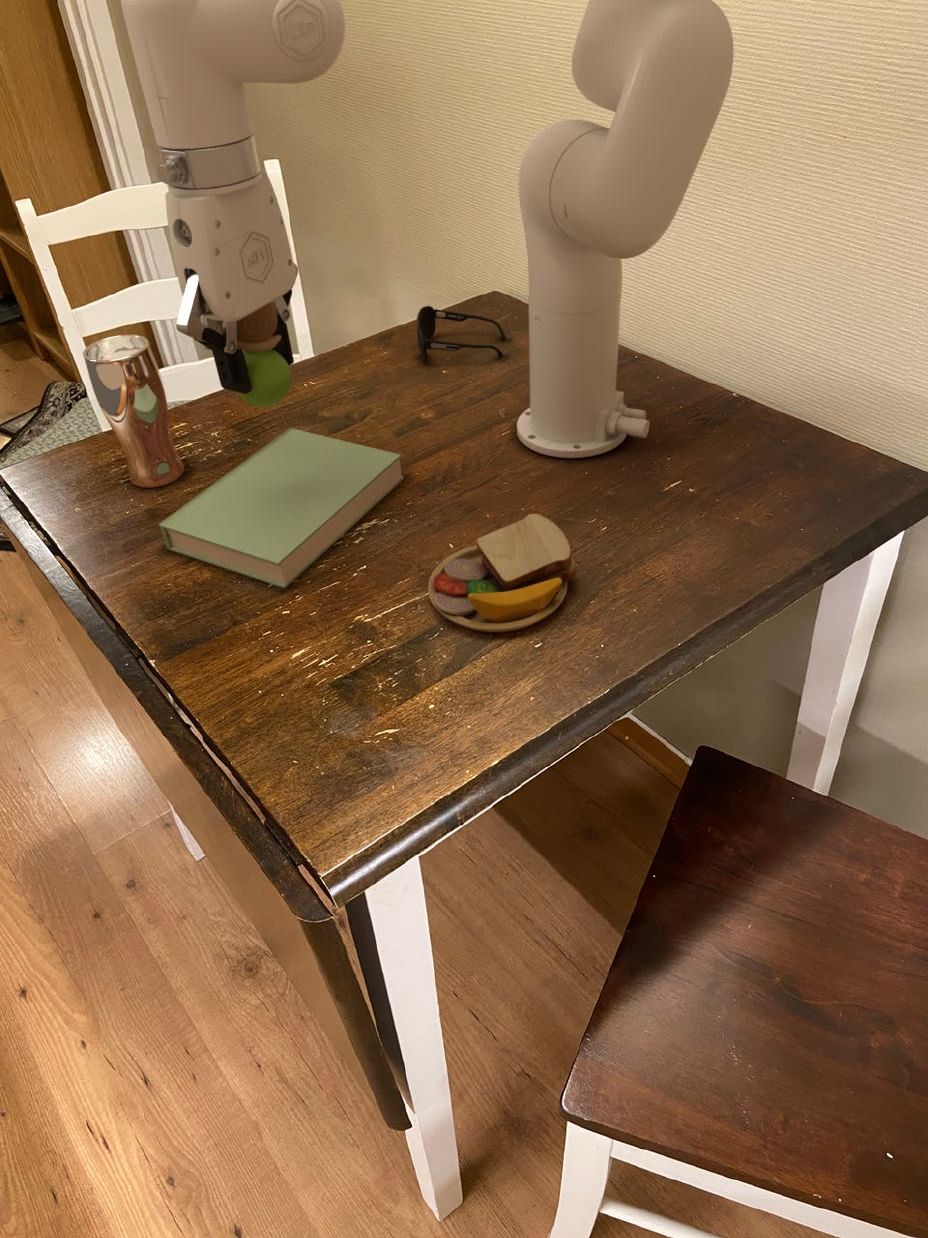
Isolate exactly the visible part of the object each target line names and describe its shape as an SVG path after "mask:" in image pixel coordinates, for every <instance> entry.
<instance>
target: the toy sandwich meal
mask: <svg viewBox="0 0 928 1238" xmlns="http://www.w3.org/2000/svg"><path fill="white" fill-rule="evenodd" d="M570 545H571V544H570V542H569V540H568V538H567V537H566V535H565V533H564V532H563V531H562V529H560V527H559V526H558V525H556V523H554V522H553V521H552V520H550V519H549V518H548V517H546V516H543V515H541V514H539V513H529V514H527V515H526V516H525V517H524V518H523V519H521V520H518V521H516V522H513V523H511V524H509V525H506V526H504V527H502V528H499V529H496V530H494V531H492V532H489V533H487V534H485V535H483V536H480V537H478V538H476V540H475V544H474V545H471V546H468V547H465V548H462V549H459V550H458V551H456V552H454V553H452V554H450V555H449V556H447V557H446V558H444V559H443V560H442V561H441V562H440V563H439V564H438V565H437V566H436V567H435V568H434V569H433V571H432V573H431V575H430V576H429V580H428V584H427V592H428V596H429V599H430V602H431V603H432V605H433V607H434V608H435V609H436V610H437V611H438V612H439V613H440V614H441V615H442V616H444V617H445V618H446V619H448V620H449V621H451V622H453V623H455V624H457V625H460V626H462V627H465V628H467V629H471V630H473V631H478V632H483V633H485V632H486V633H505V632H513V631H517V630H521V629H524V628H527V627H530V626H532V625H534V624H536V623H538V622H540V621H542V620H543V619H545V618H547V617H549V616H550V615H551V614H552V613H553V612H554V611H555V610H556V609H558V607H559V606H560V605H561V604H562V603H563V601H564V599H565V597H566V594H567V591H568V581H571V580H573V579H575V577H576V575H577V567H576V562H575V561H576V560H575V558H574V556H573V553H572V552H571V551H572V550H571V546H570Z"/></svg>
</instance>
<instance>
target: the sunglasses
mask: <svg viewBox="0 0 928 1238" xmlns="http://www.w3.org/2000/svg"><path fill="white" fill-rule="evenodd" d="M436 319H442V320H448V321H453V322H454V321H455V322H464V321H466V320H468V319H474V320H479V321H485V322H488V323H492V324H493V325H495V326H496V327H497V329H498V330H499V333H500V338H501V340H503V341H505V340H506V334H505V332H504V330H503V328H502V327H501V325H500V324H499V323H498V322H497V321H495V320H493V319H492V318H487V317H485V316H479V315H474V314H467V313H460V312H454V311H448V310H441V309H438V308H437V309H436V308H434V307H432V306H430V305H425V306H422V307H421V308H420V309H419V311H418V313H417V316H416V330H417V331H416V332H417V343H418V347H419V351H420V354H421V357H422V360H423V361H426V360H428V352H427V350H438V351H449V352H457V351H458V350H460V349H463V348H468V349H492V350H494V351H495V352H496V353H497V357H498V358H500V359H501V358H502V357H503V356H504V354H503V352H502V351H501V350H499V348H498V347H496V346H494V345H491V344H467V343H461V342H460V343H459V342H451V341H441V340H434V339H433V340H432V338H433V337H434V336H435V333H436V321H437V320H436Z"/></svg>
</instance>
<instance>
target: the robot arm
mask: <svg viewBox="0 0 928 1238" xmlns="http://www.w3.org/2000/svg"><path fill="white" fill-rule="evenodd" d="M120 6H121V10H122V14H123V20H124V23H125V27H126V31H127V35H128V39H129V42H130V46H131V50H132V54H133V59H134V62H135V67H136V71H137V74H138V79H139V81H140V85H141V90H142V93H143V97H144V101H145V105H146V108H147V112H148V116H149V120H150V123H151V124H150V125H151V128H152V131H153V136H154V140H155V144H156V147H157V151H158V154H159V159H160V163H161V164H159V165H158V166H157V167H156V174H157V176H158V179H159V180H160V182H161V183H163V184H165V185H166V186H167V190H168V191H167V192H166V193H165V207H166V208H165V209H166V217H167V226H168V235H169V241H170V247H171V253H172V257H173V262H174V267H175V272H176V275H177V280H178V284H179V289H180V291H181V294H182V300H181V304H180V308H179V312H178V315H177V319H176V325H175V327H176V330H177V331H178V332H179V333H181V334H183V335H185V336H187V337H189V338H191V339H193V340H194V341H196V342H197V343H199V344H201V345H202V346H203V347H204V348H205V349H206V350H209V351H211V352H212V356H213V359H214V364H215V368H216V372H217V375H218V379H219V383H220V386H221V388H222V389H223V390H226V391H231V392H234V393H235V392H236V393H237V392H239V393H243V394H247V393H249V392H250V391H251V389H252V386H251V382H250V378H249V373H248V369H247V365H246V360H245V356H244V351H243V350H239V349H237V321H238V320H241V319H243V318H244V317H246V316H248V315H250V314H252V313H254V312H255V311H257V310H259V309H261V308H262V307H264V306H266V305H268V304H269V303H270V304H271V305H272V307H273V308H274V310H275V312H276V315H277V328H276V330H275V332H274V334H273V335H272V336H275V335H280V336H281V340H280V341H279V343H278V344H277V345H276V346H275V347H274V348H273V349H272V350H274V351H276V352H278V353H279V354H280V355H281V356H282V357H283V358H284V359H285V360H286V362H287V363H288V365H289V367H290V366H292V365H294V363H295V360H294V355H293V350H292V344H291V340H290V333H289V329H288V325H287V322H288V321H289V320H290V318H291V312H290V309H289V306H290V302H291V299H292V296H293V288H294V286H295V284H296V280H297V277H298V274H299V267H298V265H297V264H296V263H295V262H294V258H293V253H292V248H291V245H290V240H289V237H288V232H287V229H286V224H285V222H284V221H285V220H284V217H283V214H282V211H281V208H280V207H281V206H280V204H279V200H278V197H277V195H276V191H275V189H274V187H273V184H272V182H271V179H270V177H269V175H268V173H267V171H265V170H264V169H261V166H260V160H259V156H258V150H257V146H256V140H255V135H254V128H253V124H252V123H253V122H252V117H251V114H250V108H249V103H248V98H247V93H246V92H247V91H246V88H245V84H286V85H287V84H294V85H295V84H302V83H306V82H307V83H308V82H311V81H313V80H316V79H318V78H319V77H321V76H323V75H324V74H326V73H327V72H328V71H329V70H330V69H331V68H332V67H333V66H334V65H335V63H336V61H337V60H338V58H339V56H340V54H341V52H342V49H343V46H344V42H345V37H346V20H345V15H344V11H343V7H342V4H341V2H340V0H120ZM732 31H733V30H732V28H731V25H730V22H729V20H728V17H727V16H726V14H725V12H724V11H723V10H722V8H721V7H720V6H719V5H718V4H717V3H716V1H714V0H588V1H587V5H586V8H585V10H584V14H583V17H582V20H581V23H580V26H579V28H578V32H577V35H576V39H575V42H574V46H573V50H572V56H571V73H572V78H573V81H574V84H575V86H576V89H577V90H578V91H579V93H580V94H582V95H583V97H584V98H585V99H586V100H588V101H589V102H590V103H593V104H595V105H596V106H598V107H600V108H602V109H604V110H608V111H610V112H613V113H614V115H613V118H612V121H611V124H610V127H606V126H604V125H600V124H598V123H595V122H592V121H589V120H583V119H573V118H572V119H562V120H558V121H556V122H553V123H551V124H549V125H547V126H545V127H544V128H543V129H541V130H540V131H539V132H538V133H537V134H536V135H535V136H534V137H533V138H532V139H531V140H530V142H529V144H528V146H527V147H526V149H525V151H524V154H523V156H522V159H521V163H520V167H519V172H518V199H519V207H520V214H521V219H522V226H523V231H524V237H525V244H526V254H527V267H528V268H527V272H528V273H527V275H528V351H529V352H528V357H529V359H528V361H529V362H528V363H529V364H528V365H529V407H528V408H527V409H525V410H524V411H523V412H522V413H521V414H520V415H519V417H518V419H517V421H516V435H517V437H518V439H519V441H520V442H521V443H522V444H523V445H524V446H526V448H529V449H530V450H532V451H534V452H536V453H538V454H541V455H545V456H547V457H548V456H549V457H554V458H558V459H559V458H561V459H582V458H590V457H594V456H598V455H601V454H605V453H607V452H609V451H612V450H613V449H615V448H616V447H618V446H619V445H621V444H622V443H623V442H624V440H625V439H626V437H627V435H628V436H632V437H636V438H642V439H645V438H647V436H648V433H649V431H650V420H647V411H646V410H643V409H639V408H629V407H628V406H627V405H626V404H624V398H625V392H624V391H619V390H617V373H618V356H619V337H620V320H621V319H620V318H621V300H622V290H623V262H622V260H625V259H627V260H628V259H632V258H635V257H638V256H640V255H642V254H644V253H646V252H647V251H650V250H651V248H653V247H654V246H655V245H656V244H657V243H658V242H659V241H660V240H661V238H663V236H664V235H665V234H666V232H667V231H668V229H669V227H670V226H671V224H672V223H673V221H674V219H675V217H676V215H677V213H678V211H679V209H680V206H681V204H682V202H683V201H684V197H685V195H686V193H687V190H688V189H689V186H690V184H691V181H692V179H693V176H694V174H695V172H696V169H697V167H698V165H699V162H700V161H701V157H702V155H703V153H704V151H705V148H706V145H707V143H708V141H709V139H710V136H711V134H712V131H713V129H714V127H715V125H716V122H717V120H718V117H719V114H720V112H721V109H722V107H723V104H724V101H725V99H726V96H727V92H728V90H729V86H730V83H731V78H732V74H733V65H734V51H735V49H734V37H733V32H732ZM201 318H202V320H201ZM217 321H219V322H222V325H223V335H221V334H220V333H218V328H217Z"/></svg>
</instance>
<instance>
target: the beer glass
mask: <svg viewBox="0 0 928 1238" xmlns="http://www.w3.org/2000/svg"><path fill="white" fill-rule="evenodd" d="M82 357H83V359H84V362H85V366H86V369H87V374H88V377H89V381H90V384H91V387H92V390H93V393H94V396H95V398H96V401H97V403H98V406H99V409H100V410H101V411H102V414H103V416H104V418H105V419H106V421H107V423H108V424H109V426H110V428H111V429H112V430H111V431H113V433H114V435H115V436H116V438H117V440H118V442H119V444H120V446H121V448H122V450H123V452H124V455H125V459H126V464H127V465H126V466H127V473H128V477H129V480H130V482H131V484H133V485H134V486H136V487H139V488H143V489H152V488H159V487H163V486H167V485H169V484H172V483H173V482H175V481H176V480H178V479H179V478H180V477H181V476H182V475H183V474H184V472H185V464H184V462H183V460H182V458H181V456H180V454H179V453H178V450H177V448H176V446H175V444H174V441H173V436H172V432H171V426H170V425H171V424H170V417H169V409H168V408H169V407H168V400H167V395H166V388H165V385H164V382H163V378H162V374H161V372H160V369H159V365H158V364H157V363H158V362H157V361H156V358H155V355H154V353H153V351H152V349H151V346H150V342H149V340H148V338H146V337H145V336H144V335H143V336H142V335H138V334H131V333H129V334H128V333H127V334H117V335H111V336H107V337H105V338H101V339H99V340H95V341H94V342H92V343H90V344H89V345H87V346H86V347H85V348H84V349H83V351H82Z"/></svg>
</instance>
